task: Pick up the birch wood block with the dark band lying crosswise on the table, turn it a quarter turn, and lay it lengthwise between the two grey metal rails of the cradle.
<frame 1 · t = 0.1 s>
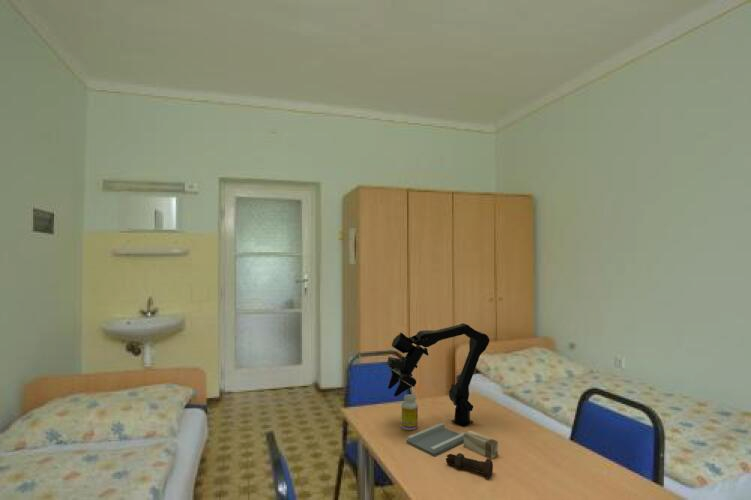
hand: (391, 392, 174), 15 cm above the table, tool tilted 35°, fingers open, 9 cm apart
banded block: (480, 451, 155), on the table
cradle: (437, 441, 163), on the table
bolt: (468, 470, 142), on the table
supplement bottle: (409, 427, 175), on the table
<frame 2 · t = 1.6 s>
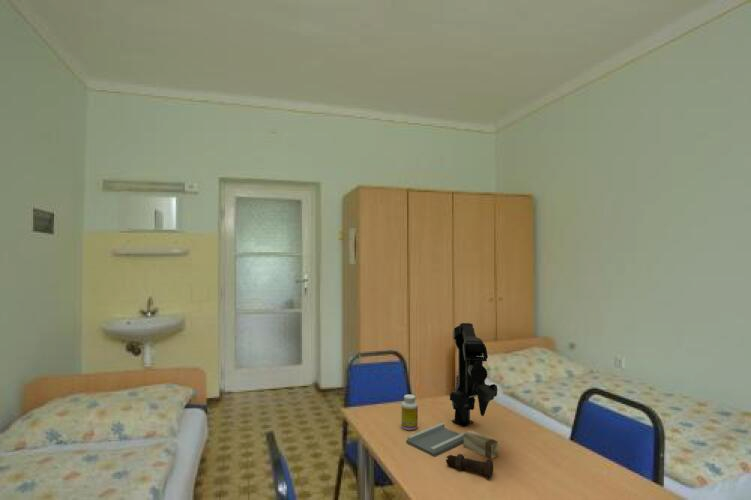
hand: (473, 418, 155), 12 cm above the table, tool pointing down, fingers open, 9 cm apart
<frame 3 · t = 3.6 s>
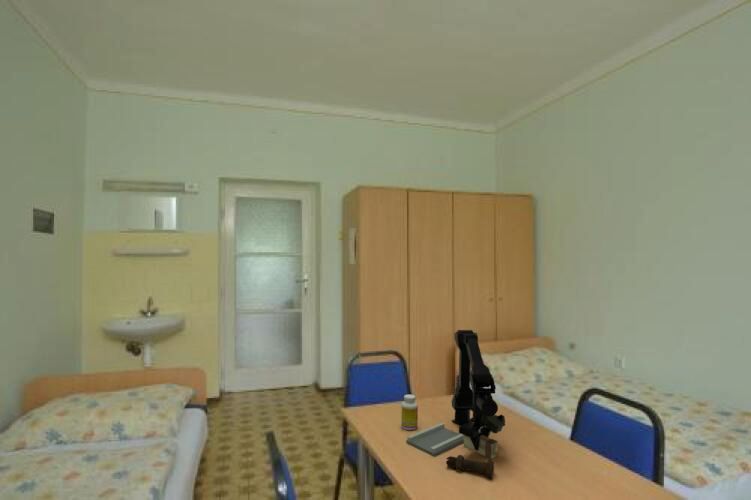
hand: (480, 448, 155), 1 cm above the table, tool pointing down, fingers closed on banded block, 4 cm apart
banded block: (480, 451, 155), on the table, touching gripper
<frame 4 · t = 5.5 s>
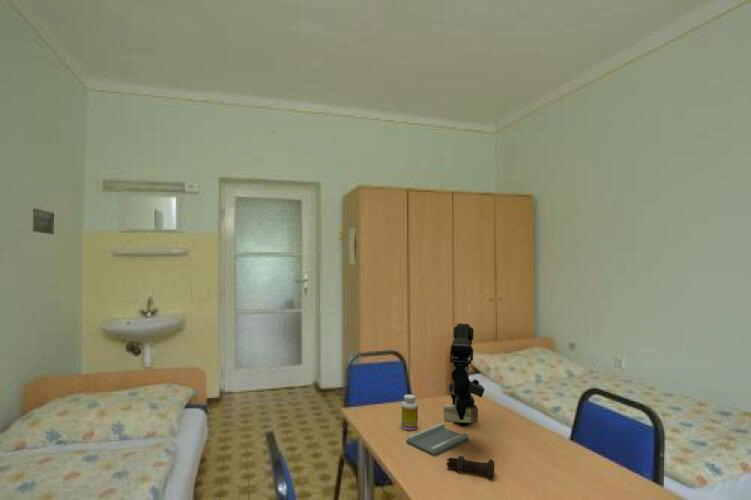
hand: (460, 417, 159), 11 cm above the table, tool pointing down, fingers closed on banded block, 4 cm apart
banded block: (460, 420, 159), point 10 cm above the table, touching gripper
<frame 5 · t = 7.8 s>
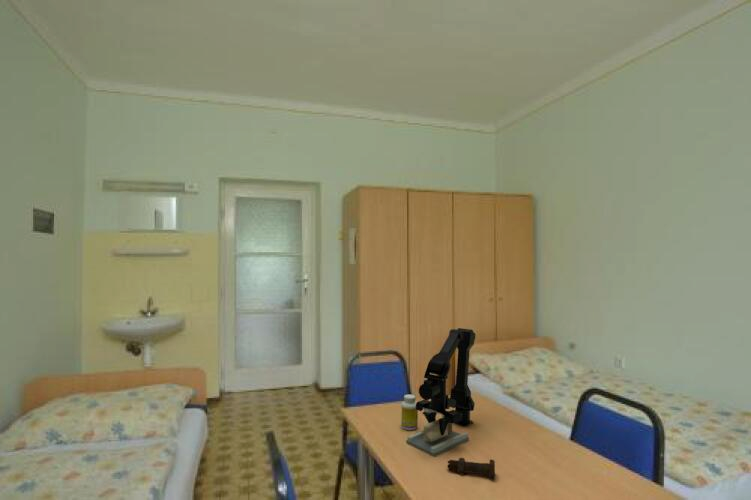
hand: (437, 433, 163), 3 cm above the table, tool pointing down, fingers closed on banded block, 4 cm apart
banded block: (437, 435, 163), point 2 cm above the table, touching gripper
when the fingers open (3 cm above the table, at t = 7.8 s): banded block drops 1 cm, resting on cradle.
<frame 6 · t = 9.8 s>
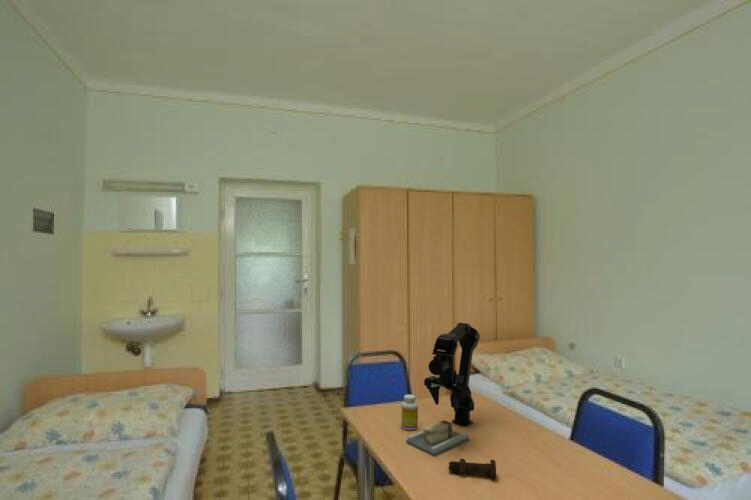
hand: (446, 408, 166), 12 cm above the table, tool pointing down, fingers open, 9 cm apart
banded block: (437, 438, 162), point 1 cm above the table, touching cradle
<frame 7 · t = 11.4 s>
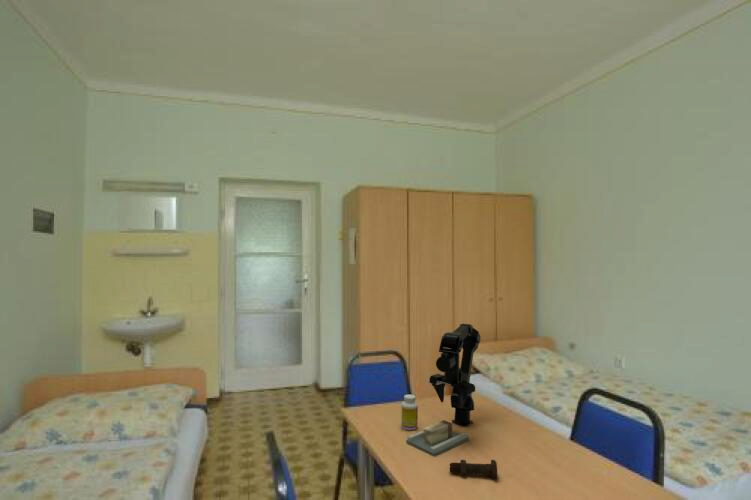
hand: (451, 405, 168), 12 cm above the table, tool pointing down, fingers open, 9 cm apart
at the end: banded block inside the target area on the cradle (0.0 cm from its centre), point 1.0 cm above the cradle's base; the gripper is holding nothing; banded block touching cradle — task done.
